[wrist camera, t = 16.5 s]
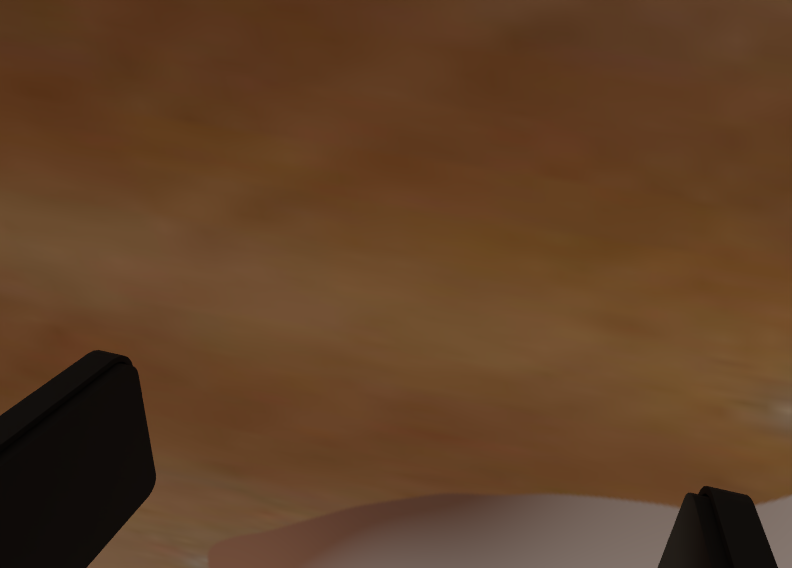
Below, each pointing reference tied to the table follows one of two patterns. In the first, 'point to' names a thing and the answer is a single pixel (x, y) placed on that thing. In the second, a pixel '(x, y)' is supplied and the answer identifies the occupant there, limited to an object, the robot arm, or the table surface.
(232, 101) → the table surface
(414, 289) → the table surface
